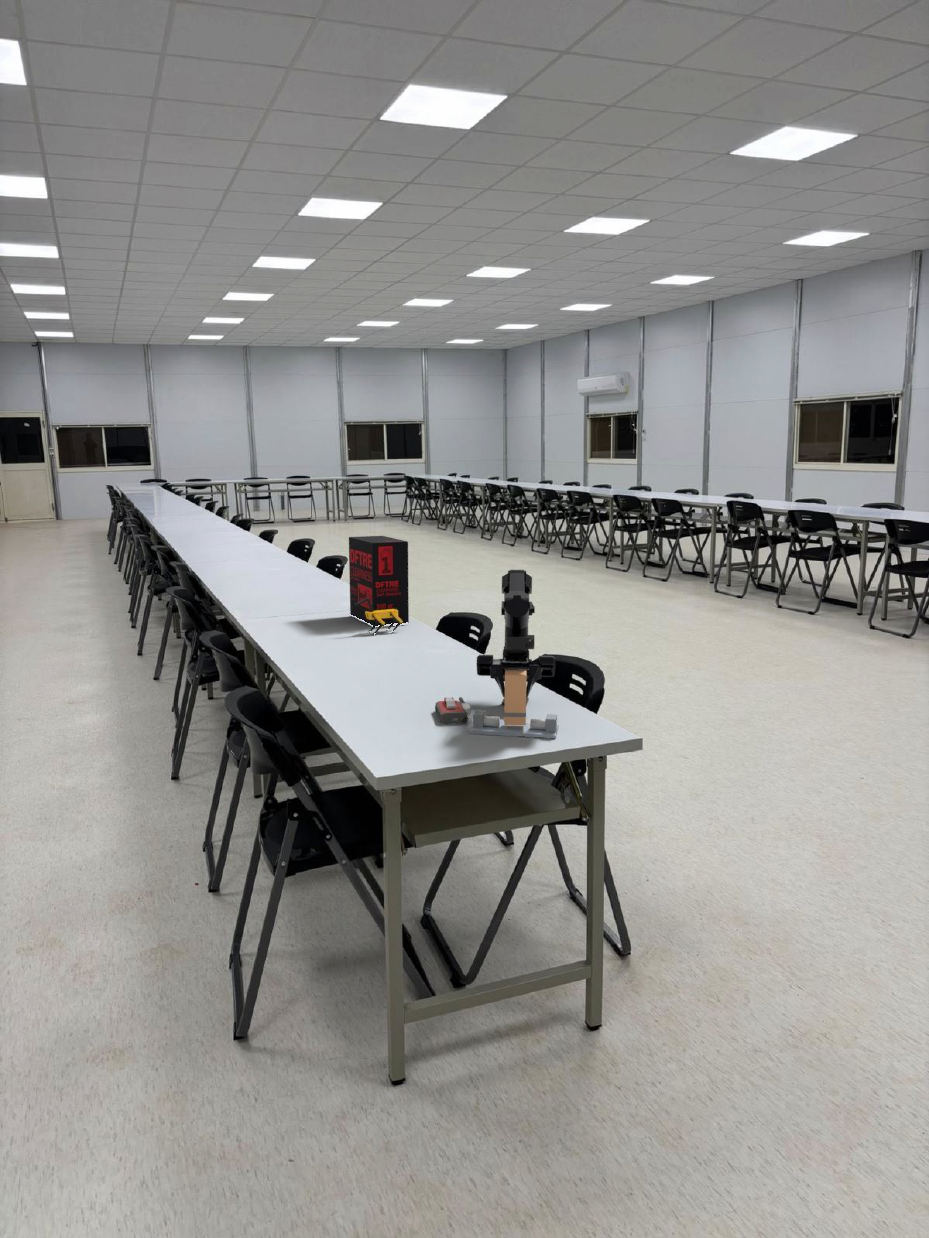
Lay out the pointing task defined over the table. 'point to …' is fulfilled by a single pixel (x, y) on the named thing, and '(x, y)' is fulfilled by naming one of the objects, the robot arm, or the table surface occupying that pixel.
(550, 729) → the grey holder base
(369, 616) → the robot dog
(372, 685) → the table surface
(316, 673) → the table surface
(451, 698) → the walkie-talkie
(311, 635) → the table surface
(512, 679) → the tan rectangular block
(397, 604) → the product box
